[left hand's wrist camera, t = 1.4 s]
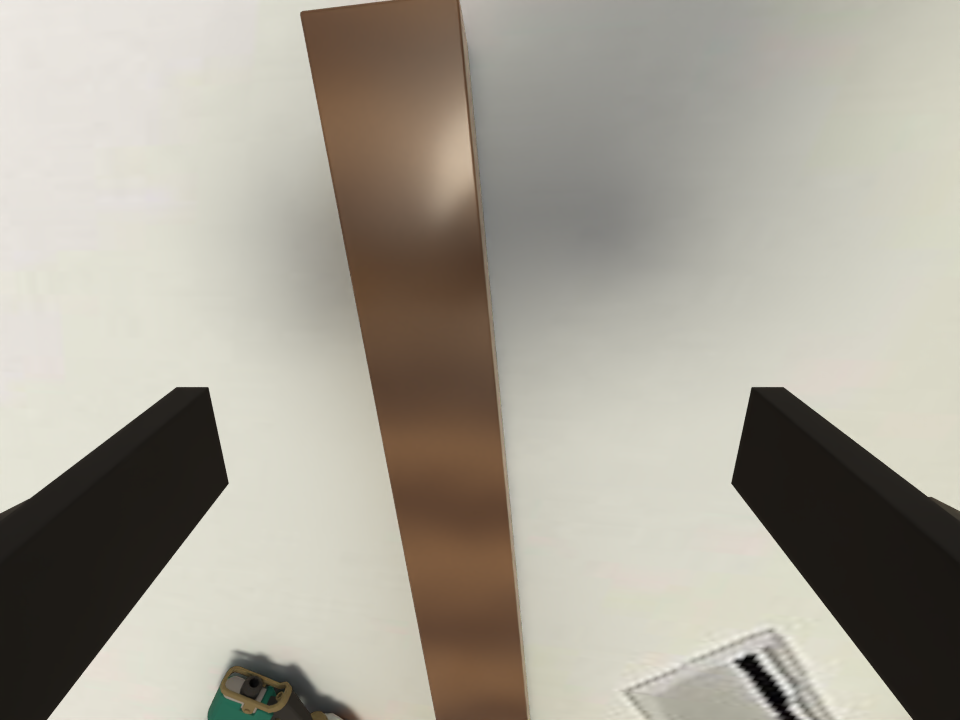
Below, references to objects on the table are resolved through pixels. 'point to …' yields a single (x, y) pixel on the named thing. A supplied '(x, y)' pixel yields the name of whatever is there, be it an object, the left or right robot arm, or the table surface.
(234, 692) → the spray gun
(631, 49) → the table surface
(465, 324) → the post
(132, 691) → the table surface
